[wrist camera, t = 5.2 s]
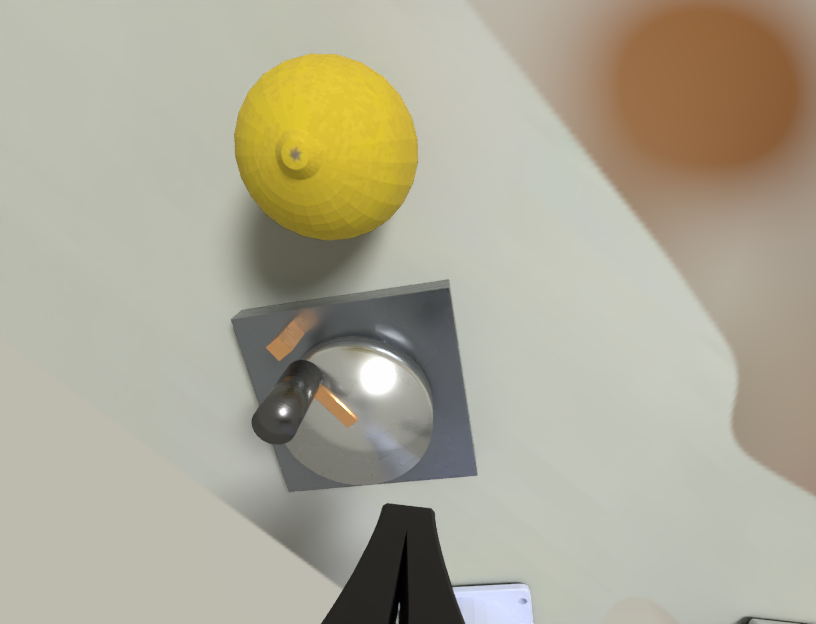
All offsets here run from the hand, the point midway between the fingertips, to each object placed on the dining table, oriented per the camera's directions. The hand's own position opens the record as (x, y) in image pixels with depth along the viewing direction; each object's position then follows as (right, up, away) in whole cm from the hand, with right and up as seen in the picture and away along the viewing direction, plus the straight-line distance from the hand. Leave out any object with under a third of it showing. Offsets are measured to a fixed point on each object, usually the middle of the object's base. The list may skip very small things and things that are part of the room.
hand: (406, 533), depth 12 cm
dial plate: (-2, +2, +10) cm, 10 cm away
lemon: (-2, +13, +6) cm, 14 cm away
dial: (-2, +2, +9) cm, 9 cm away
